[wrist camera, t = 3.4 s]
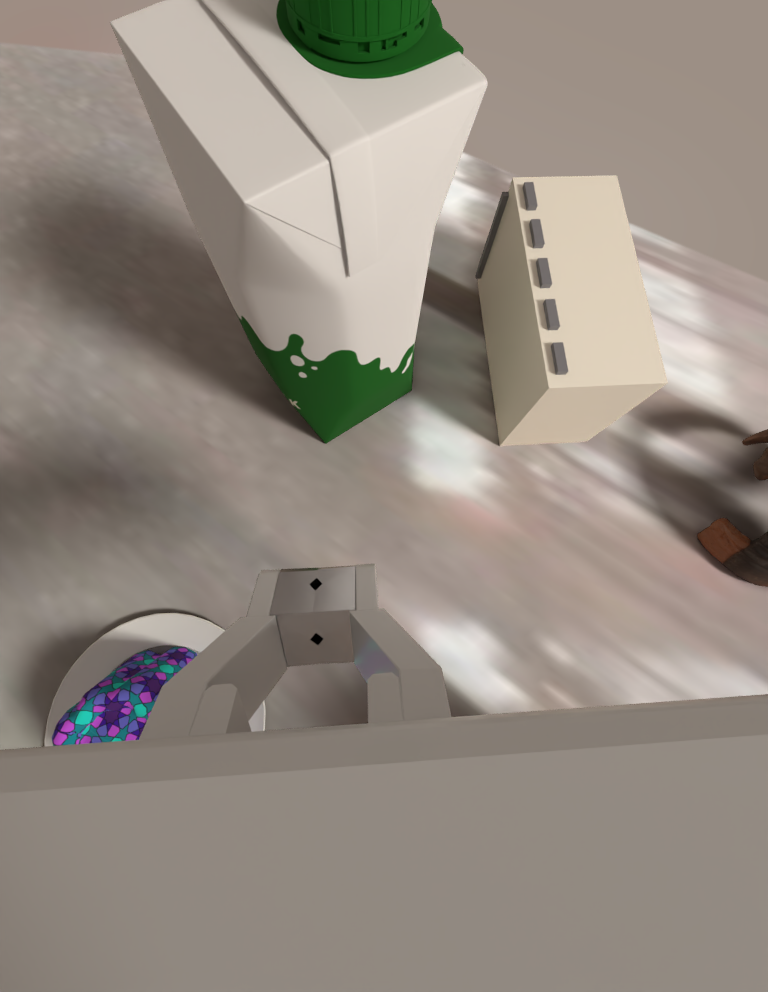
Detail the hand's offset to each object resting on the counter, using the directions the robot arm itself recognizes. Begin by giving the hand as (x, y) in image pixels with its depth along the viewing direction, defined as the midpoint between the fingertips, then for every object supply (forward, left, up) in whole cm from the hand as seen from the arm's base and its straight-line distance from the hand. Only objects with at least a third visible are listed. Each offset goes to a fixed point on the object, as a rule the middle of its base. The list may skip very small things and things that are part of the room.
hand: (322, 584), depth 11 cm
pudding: (-11, -7, -15) cm, 20 cm away
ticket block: (+13, +15, -15) cm, 25 cm away
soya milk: (0, +14, -15) cm, 21 cm away
